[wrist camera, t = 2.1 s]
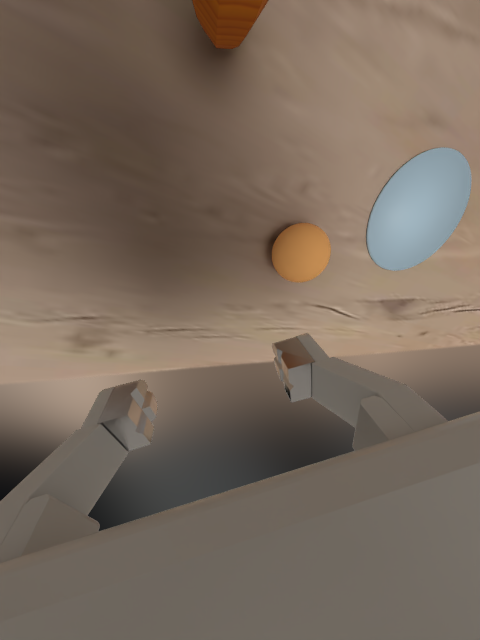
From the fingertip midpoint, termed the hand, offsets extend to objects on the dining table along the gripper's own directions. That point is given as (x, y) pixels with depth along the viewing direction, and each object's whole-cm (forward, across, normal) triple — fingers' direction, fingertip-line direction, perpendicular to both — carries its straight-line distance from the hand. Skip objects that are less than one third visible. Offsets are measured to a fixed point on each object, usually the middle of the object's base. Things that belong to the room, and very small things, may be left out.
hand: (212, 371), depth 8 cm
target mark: (+15, -24, 0) cm, 29 cm away
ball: (+12, -10, 0) cm, 16 cm away
